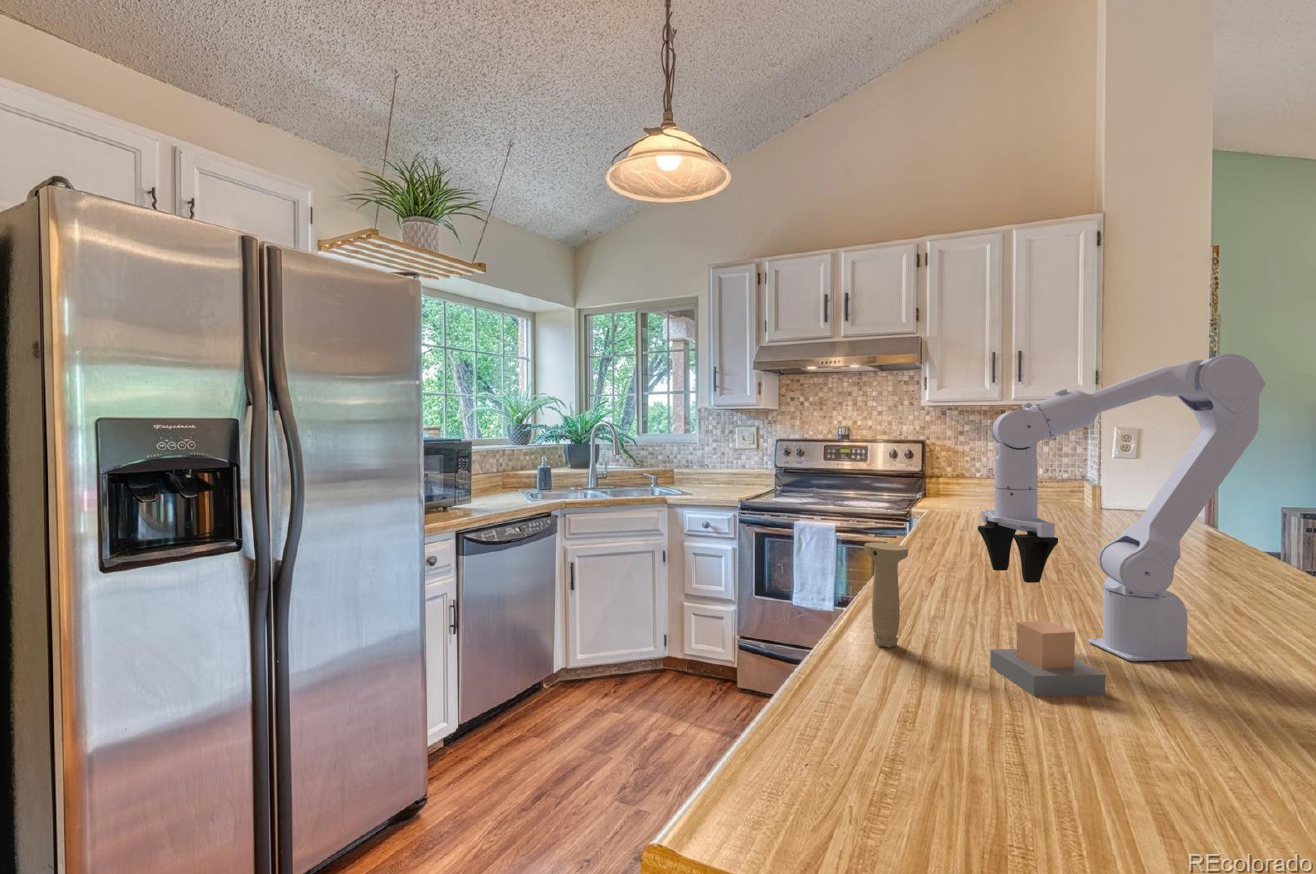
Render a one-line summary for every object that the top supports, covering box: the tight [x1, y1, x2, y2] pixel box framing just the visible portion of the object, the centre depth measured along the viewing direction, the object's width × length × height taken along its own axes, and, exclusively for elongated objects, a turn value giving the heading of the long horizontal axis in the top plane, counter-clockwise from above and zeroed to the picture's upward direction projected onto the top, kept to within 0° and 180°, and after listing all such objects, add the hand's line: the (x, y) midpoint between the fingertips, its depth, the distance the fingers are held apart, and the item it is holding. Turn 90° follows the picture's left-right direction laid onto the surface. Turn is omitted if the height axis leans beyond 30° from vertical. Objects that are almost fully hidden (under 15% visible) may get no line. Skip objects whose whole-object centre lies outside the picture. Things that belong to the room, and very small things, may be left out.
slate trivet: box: [990, 648, 1106, 697], centre depth 79 cm, size 9×9×3 cm
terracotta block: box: [1016, 620, 1076, 669], centre depth 79 cm, size 4×4×4 cm
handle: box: [863, 541, 909, 649], centre depth 92 cm, size 5×6×15 cm
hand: (1015, 575), depth 94 cm, fingers open, 7 cm apart
